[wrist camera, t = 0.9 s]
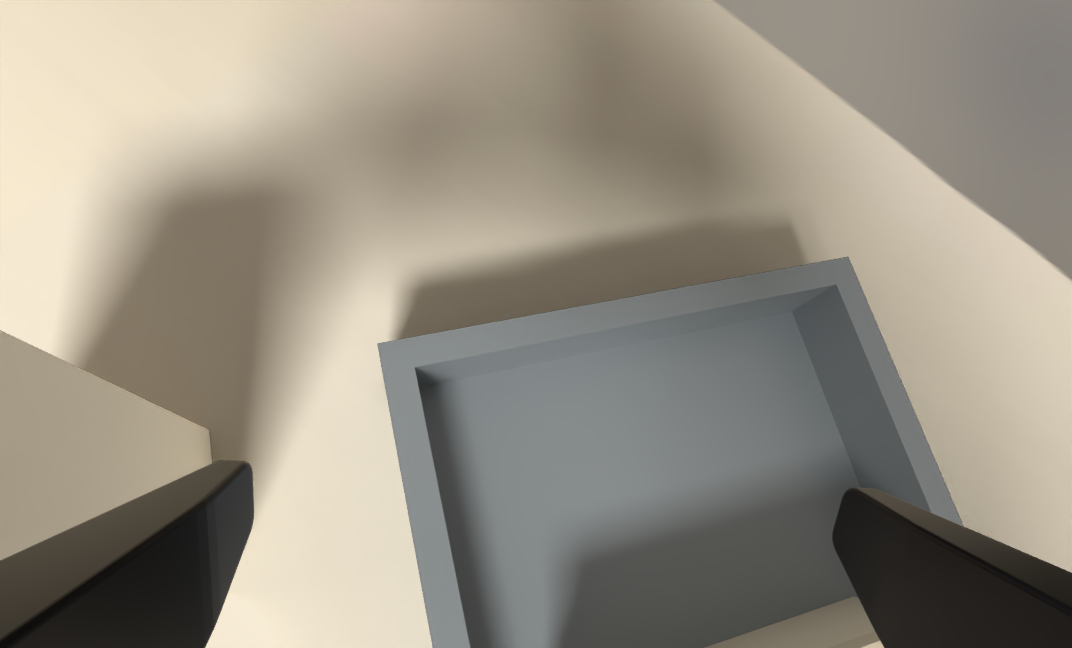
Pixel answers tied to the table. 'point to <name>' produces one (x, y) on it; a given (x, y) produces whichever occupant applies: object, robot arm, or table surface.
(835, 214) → the table surface
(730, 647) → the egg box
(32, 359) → the juice carton
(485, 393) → the tote
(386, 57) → the table surface
